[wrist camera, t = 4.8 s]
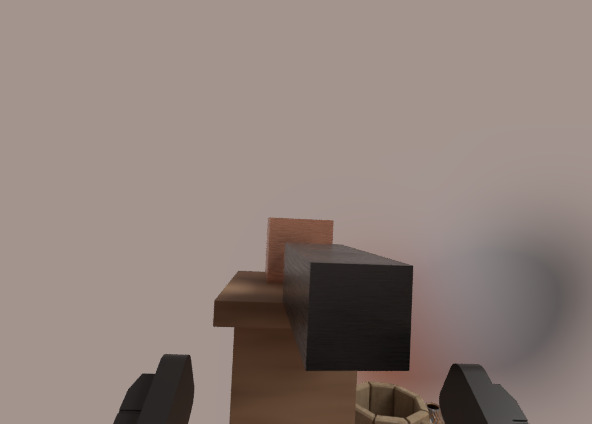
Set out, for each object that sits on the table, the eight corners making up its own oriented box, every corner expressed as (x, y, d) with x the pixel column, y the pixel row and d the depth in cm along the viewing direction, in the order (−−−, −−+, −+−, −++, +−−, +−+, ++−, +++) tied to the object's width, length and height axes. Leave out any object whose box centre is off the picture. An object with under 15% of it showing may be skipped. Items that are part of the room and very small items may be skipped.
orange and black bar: (430, 370, 12) (435, 222, 12) (282, 371, 11) (289, 215, 11) (317, 272, 34) (319, 220, 34) (265, 271, 33) (267, 218, 33)
